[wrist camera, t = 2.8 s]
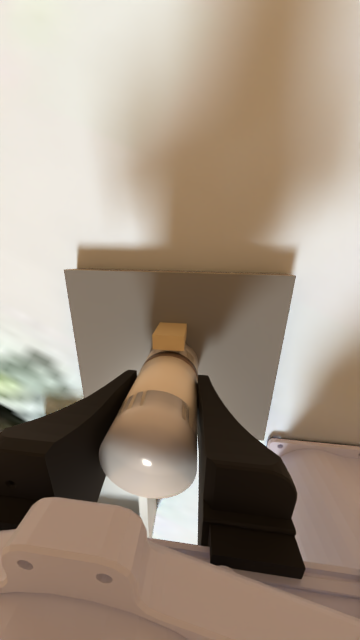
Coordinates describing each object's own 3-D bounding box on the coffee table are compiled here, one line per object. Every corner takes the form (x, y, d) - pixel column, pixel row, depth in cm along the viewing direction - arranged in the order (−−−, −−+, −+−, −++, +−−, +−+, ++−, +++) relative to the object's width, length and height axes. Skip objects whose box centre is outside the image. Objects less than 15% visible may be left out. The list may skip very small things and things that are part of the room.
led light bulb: (199, 341, 15) (199, 430, 7) (197, 386, 16) (195, 504, 8) (147, 338, 15) (92, 419, 7) (148, 382, 16) (103, 492, 9)
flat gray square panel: (286, 274, 14) (318, 279, 10) (258, 426, 18) (274, 470, 14) (76, 268, 15) (35, 271, 12) (96, 411, 20) (71, 447, 16)
